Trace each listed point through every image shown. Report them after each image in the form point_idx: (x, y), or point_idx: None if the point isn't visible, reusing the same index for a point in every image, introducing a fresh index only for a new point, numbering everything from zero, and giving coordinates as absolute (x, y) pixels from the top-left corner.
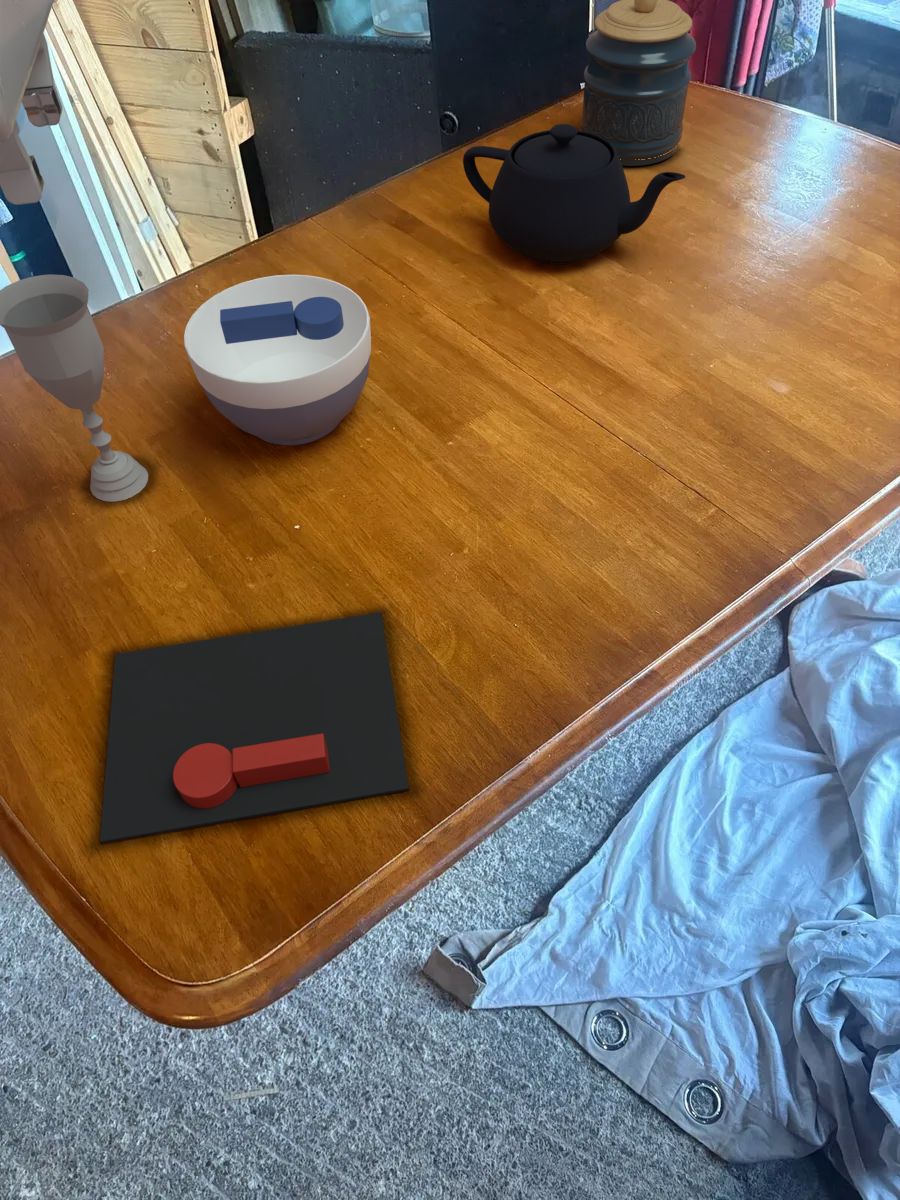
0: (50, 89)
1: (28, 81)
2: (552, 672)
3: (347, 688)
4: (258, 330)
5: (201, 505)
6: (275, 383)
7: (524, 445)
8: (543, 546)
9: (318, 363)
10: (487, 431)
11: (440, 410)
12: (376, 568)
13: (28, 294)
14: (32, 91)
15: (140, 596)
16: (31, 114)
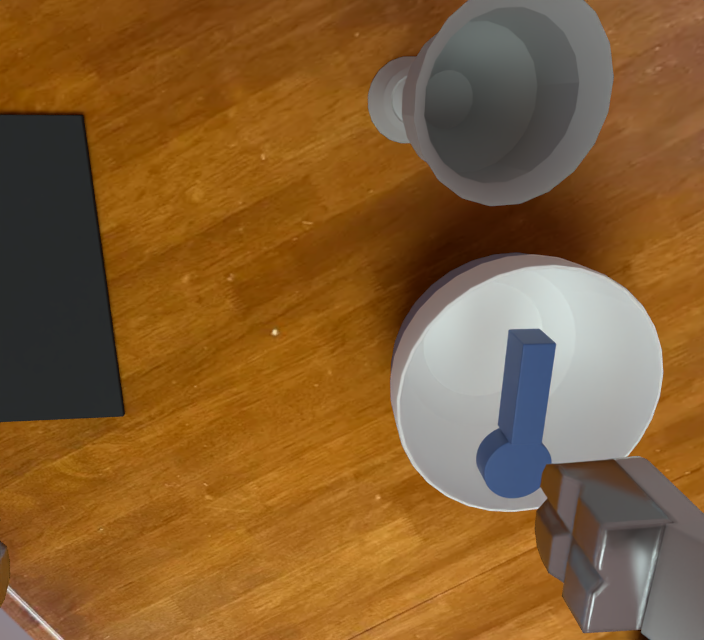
0: (618, 625)
1: (683, 576)
2: (39, 551)
3: (18, 378)
4: (508, 384)
5: (335, 217)
6: (397, 394)
7: (355, 563)
8: (203, 563)
9: None
10: (387, 533)
11: (436, 492)
12: (194, 412)
13: (582, 56)
14: (629, 566)
15: (184, 141)
16: (565, 493)
